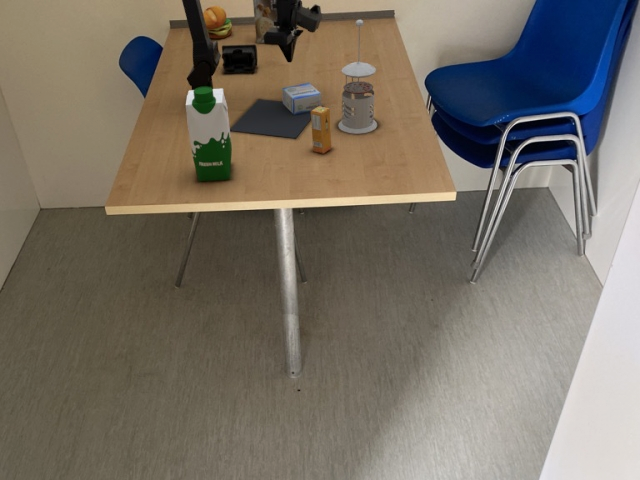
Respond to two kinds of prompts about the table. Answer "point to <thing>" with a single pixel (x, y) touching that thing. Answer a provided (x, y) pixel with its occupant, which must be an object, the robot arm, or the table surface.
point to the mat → (272, 120)
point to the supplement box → (321, 129)
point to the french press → (358, 97)
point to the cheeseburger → (217, 22)
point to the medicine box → (301, 98)
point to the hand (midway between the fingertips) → (289, 61)
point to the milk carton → (209, 133)
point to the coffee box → (263, 17)
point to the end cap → (239, 59)
